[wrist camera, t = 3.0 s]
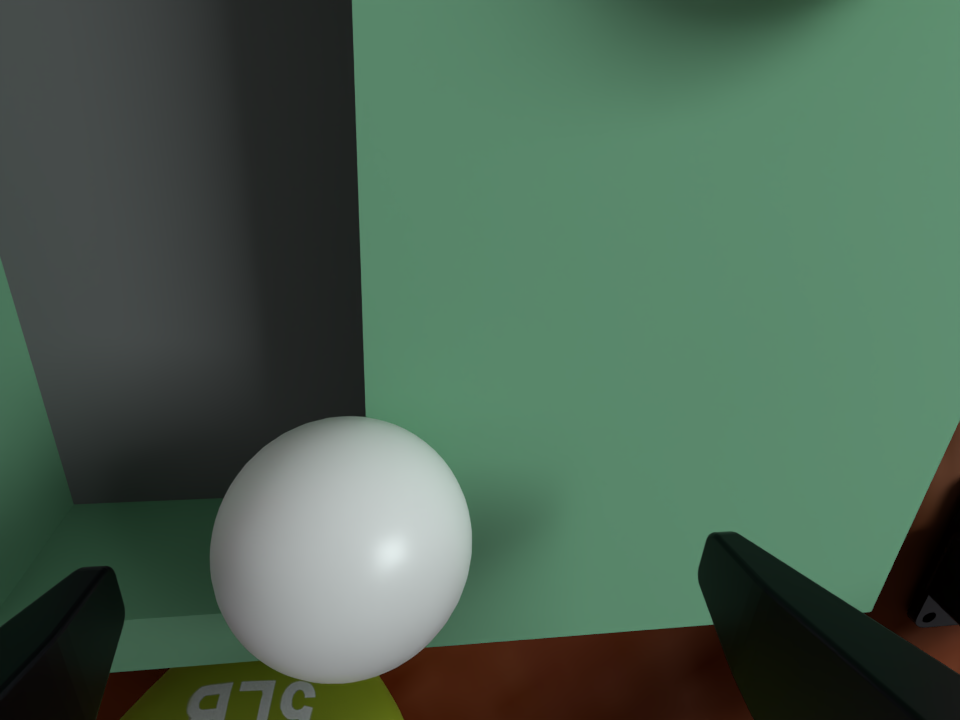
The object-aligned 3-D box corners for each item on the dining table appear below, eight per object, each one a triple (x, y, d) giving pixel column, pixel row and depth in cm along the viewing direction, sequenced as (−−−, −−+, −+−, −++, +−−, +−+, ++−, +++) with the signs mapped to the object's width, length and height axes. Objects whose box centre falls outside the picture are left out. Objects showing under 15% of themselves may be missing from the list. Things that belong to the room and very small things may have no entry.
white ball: (119, 478, 8) (302, 356, 11) (168, 691, 9) (313, 528, 13) (412, 568, 7) (512, 402, 10) (406, 789, 8) (493, 582, 12)
